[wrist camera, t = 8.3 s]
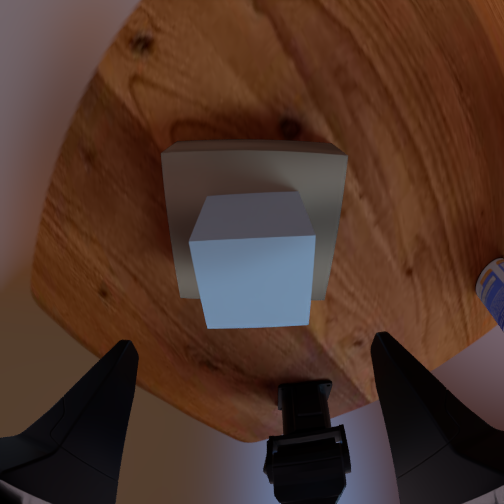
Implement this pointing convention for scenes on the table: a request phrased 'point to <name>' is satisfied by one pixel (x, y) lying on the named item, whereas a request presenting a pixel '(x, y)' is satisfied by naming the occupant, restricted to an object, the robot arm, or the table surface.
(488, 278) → the pill bottle
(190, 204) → the taupe base block
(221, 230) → the slate cube
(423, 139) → the table surface
